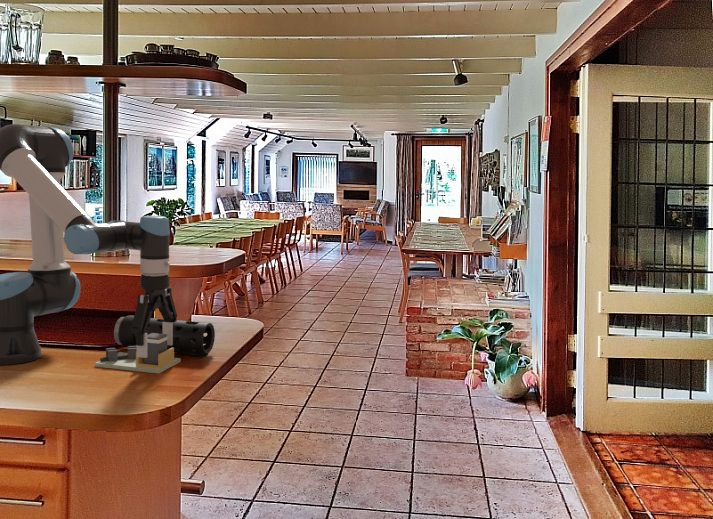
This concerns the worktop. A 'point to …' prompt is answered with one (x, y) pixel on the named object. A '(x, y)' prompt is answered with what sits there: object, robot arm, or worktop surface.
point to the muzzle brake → (184, 335)
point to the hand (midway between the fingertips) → (155, 350)
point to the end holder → (163, 360)
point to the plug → (155, 347)
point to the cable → (118, 358)
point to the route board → (128, 361)
